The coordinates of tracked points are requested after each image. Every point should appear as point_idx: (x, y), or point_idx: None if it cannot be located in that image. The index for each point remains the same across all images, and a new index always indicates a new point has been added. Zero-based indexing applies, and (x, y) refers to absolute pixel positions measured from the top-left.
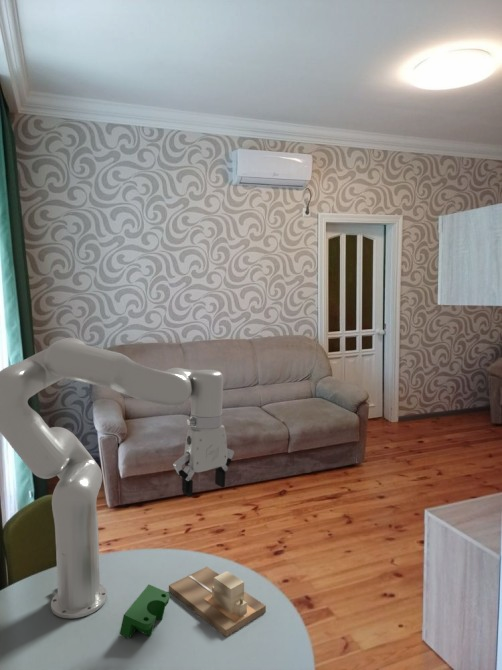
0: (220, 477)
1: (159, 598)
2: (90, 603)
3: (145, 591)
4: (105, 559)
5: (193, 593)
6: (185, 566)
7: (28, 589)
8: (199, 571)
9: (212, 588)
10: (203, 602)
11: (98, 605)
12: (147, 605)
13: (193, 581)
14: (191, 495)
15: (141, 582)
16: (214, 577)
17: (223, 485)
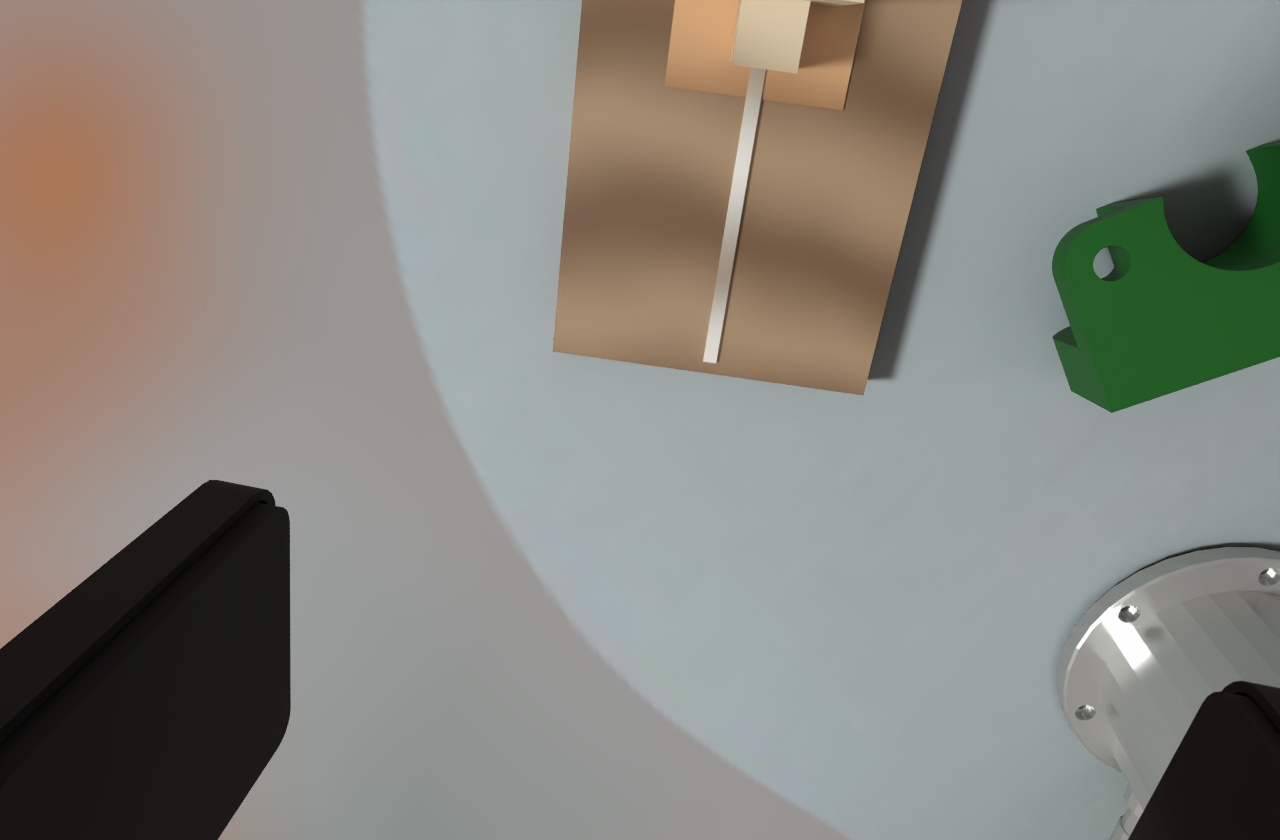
0: (150, 731)
1: (1159, 259)
2: (1252, 596)
3: (1188, 371)
4: (844, 824)
5: (837, 205)
6: (608, 480)
7: None
8: (628, 350)
9: (797, 68)
10: (876, 72)
11: (1223, 560)
12: (1270, 263)
13: (735, 302)
14: (1275, 694)
15: (887, 555)
16: (859, 1)
17: (236, 502)
